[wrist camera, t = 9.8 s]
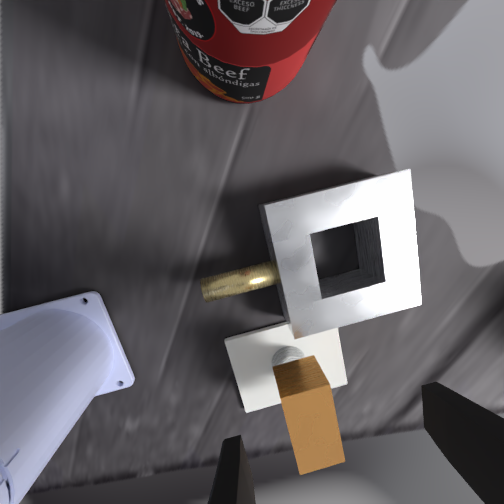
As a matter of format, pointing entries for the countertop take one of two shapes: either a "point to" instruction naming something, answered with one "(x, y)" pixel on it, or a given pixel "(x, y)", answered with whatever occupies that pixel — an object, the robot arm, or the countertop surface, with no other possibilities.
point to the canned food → (246, 42)
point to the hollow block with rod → (345, 284)
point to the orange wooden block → (307, 409)
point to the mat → (261, 353)
